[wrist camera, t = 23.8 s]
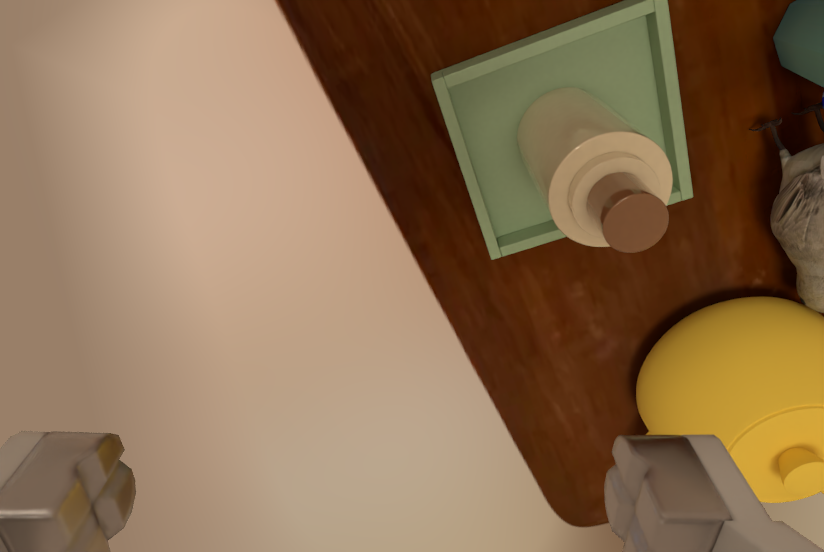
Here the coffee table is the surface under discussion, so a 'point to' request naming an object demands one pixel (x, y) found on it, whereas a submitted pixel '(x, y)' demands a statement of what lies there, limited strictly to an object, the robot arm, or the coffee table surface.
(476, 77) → the tray
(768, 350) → the teapot
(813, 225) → the grey figurine
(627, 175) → the bottle
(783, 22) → the cup
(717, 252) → the coffee table surface
